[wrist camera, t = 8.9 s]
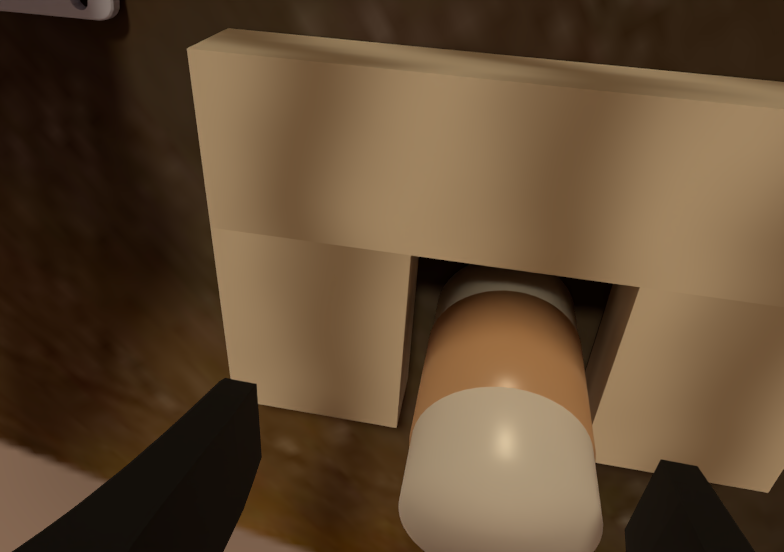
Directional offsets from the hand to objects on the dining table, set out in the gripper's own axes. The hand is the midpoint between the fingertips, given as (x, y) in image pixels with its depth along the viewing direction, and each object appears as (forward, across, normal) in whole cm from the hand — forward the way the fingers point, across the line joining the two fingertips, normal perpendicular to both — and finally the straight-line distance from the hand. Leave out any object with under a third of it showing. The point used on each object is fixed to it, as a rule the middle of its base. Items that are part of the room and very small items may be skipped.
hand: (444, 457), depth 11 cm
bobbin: (+9, -2, +3) cm, 10 cm away
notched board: (+9, -2, +1) cm, 9 cm away
